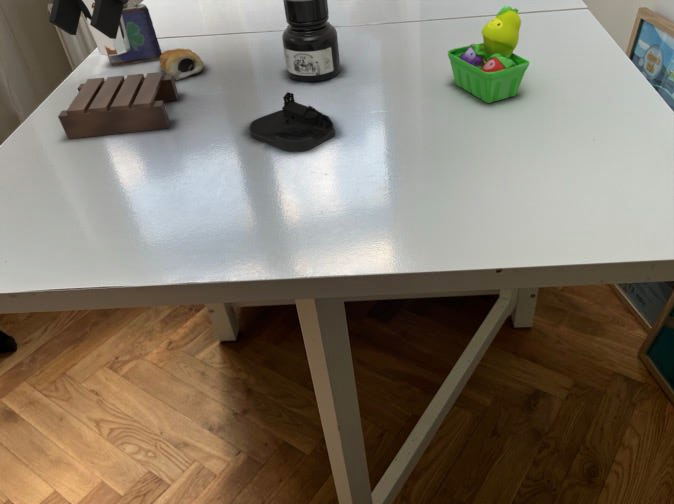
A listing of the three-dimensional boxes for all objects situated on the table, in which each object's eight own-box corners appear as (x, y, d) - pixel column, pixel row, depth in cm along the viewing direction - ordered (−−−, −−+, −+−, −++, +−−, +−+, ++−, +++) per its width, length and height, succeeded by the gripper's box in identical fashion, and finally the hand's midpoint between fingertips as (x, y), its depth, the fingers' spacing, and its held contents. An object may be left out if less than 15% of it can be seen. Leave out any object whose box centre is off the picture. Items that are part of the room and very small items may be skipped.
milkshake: (150, 47, 62) (120, -56, 55) (105, 61, 59) (67, -46, 52) (130, 38, 64) (98, -62, 57) (86, 51, 61) (46, -52, 55)
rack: (68, 139, 79) (55, 112, 76) (89, 104, 88) (78, 79, 85) (168, 128, 80) (159, 101, 77) (179, 95, 89) (171, 70, 86)
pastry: (153, 67, 99) (146, 45, 96) (189, 58, 102) (183, 36, 99) (172, 82, 93) (165, 59, 91) (210, 72, 96) (204, 49, 93)
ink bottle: (277, 80, 92) (263, 2, 84) (298, 61, 98) (287, -14, 90) (331, 85, 89) (323, 4, 81) (350, 65, 95) (343, -12, 87)
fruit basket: (443, 83, 88) (445, 6, 80) (489, 71, 90) (496, -4, 83) (485, 109, 80) (492, 26, 72) (534, 95, 83) (546, 14, 75)
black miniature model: (239, 132, 78) (231, 98, 75) (291, 107, 83) (285, 74, 80) (297, 156, 72) (291, 120, 68) (349, 128, 77) (345, 93, 74)
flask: (110, 67, 100) (87, 2, 93) (111, 61, 102) (88, -2, 95) (163, 59, 102) (144, -5, 95) (162, 54, 104) (143, -9, 97)
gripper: (36, -218, 56) (-16, 4, 56) (181, -229, 51) (125, 15, 51) (93, -156, 63) (47, 42, 63) (225, -160, 58) (177, 54, 58)
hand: (82, 29), depth 57 cm, fingers closed on milkshake, 5 cm apart
